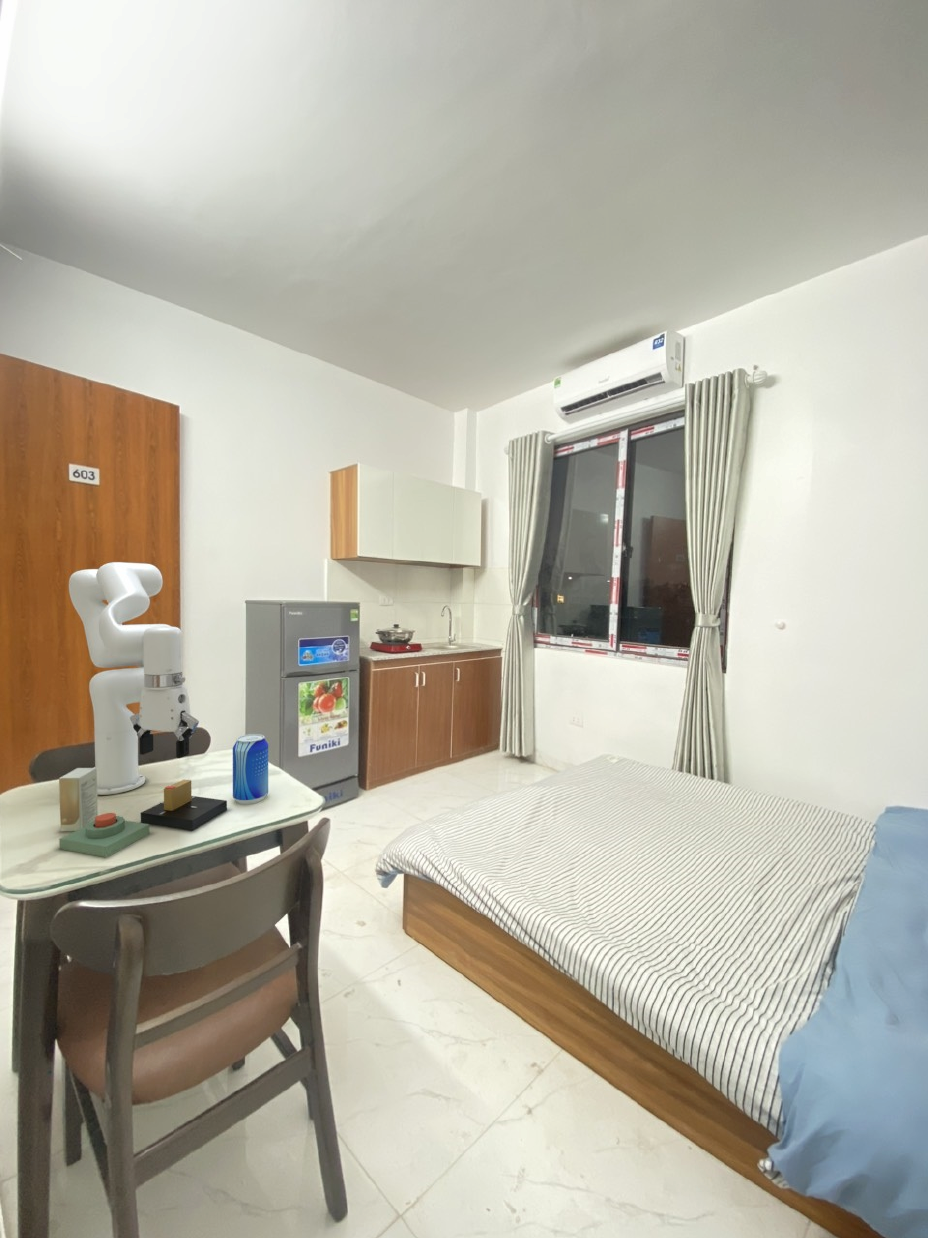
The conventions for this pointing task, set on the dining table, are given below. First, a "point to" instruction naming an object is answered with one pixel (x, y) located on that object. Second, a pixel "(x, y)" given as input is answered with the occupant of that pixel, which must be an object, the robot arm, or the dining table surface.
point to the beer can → (250, 769)
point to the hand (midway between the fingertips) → (164, 754)
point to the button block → (104, 837)
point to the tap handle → (177, 795)
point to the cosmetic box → (78, 798)
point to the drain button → (105, 820)
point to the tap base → (185, 814)
